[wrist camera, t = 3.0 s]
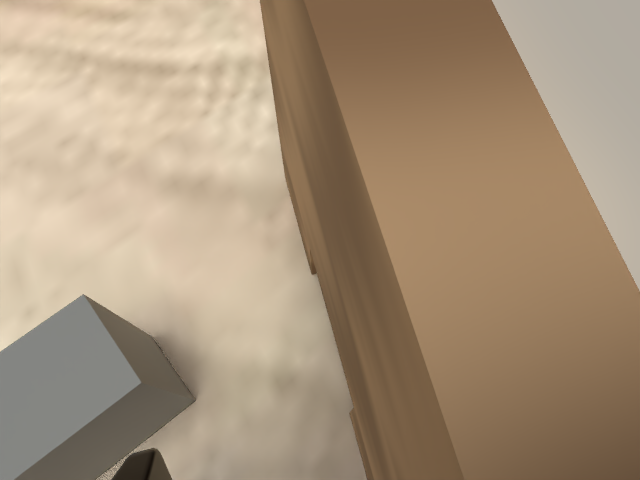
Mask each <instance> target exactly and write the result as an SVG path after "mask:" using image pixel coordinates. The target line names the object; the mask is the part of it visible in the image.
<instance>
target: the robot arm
mask: <svg viewBox="0 0 640 480" xmlns="http://www.w3.org/2000/svg"><path fill="white" fill-rule="evenodd" d="M112 480H172V478H171V476H170V474H169V471H168V469H167V467H166V464H165V462H164V460H163V458H162V455H161V453H160V452H159V451H158V450H157V449H155V448H151V449H147V450H144V451H140V452H137V453H133V454H131V455H130V456H129V457H128V458H127V459H126V460H125V462H124V463H123V464H122V466H121V467H120V469H119V470H118V471H117V473H116V474H115V475H114V477H113V478H112Z"/></svg>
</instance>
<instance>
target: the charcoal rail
mask: <svg viewBox="0 0 640 480" xmlns="http://www.w3.org/2000/svg"><path fill="white" fill-rule="evenodd" d="M194 401H196V400H195V399H194V397H193V396H192V395H191V393H190V392H189V390H188V389H187V387H186V386H185V384H184V383H183V381H182V380H181V379H180V377H179V376H178V374H177V373H176V371H175V370H174V368H173V367H172V365H171V364H170V363H169V361H168V360H167V358H166V357H165V355H164V354H163V352H162V351H161V349H160V348H159V347H158V345H157V344H156V342H155V341H154V339H153V338H152V336H150V335H148V334H147V333H145V332H144V331H142V330H140V329H139V328H137V327H135V326H134V325H132V324H131V323H129V322H127V321H126V320H124V319H123V318H121V317H119V316H118V315H116V314H114V313H113V312H111V311H110V310H108V309H106V308H105V307H103V306H101V305H100V304H98V303H97V302H95V301H93V300H92V299H90V298H89V297H87V296H85V295H84V294H83V295H82V296H80V297H79V298H77V299H76V300H74V301H73V302H71V303H70V304H69V305H67V306H66V307H64V308H63V309H61V310H60V311H59V312H57V313H56V314H54V315H53V316H51V317H50V318H48V319H47V320H46V321H44V322H43V323H41V324H40V325H38V326H37V327H35V328H34V329H33V330H31V331H30V332H28V333H27V334H25V335H24V336H22V337H21V338H20V339H18V340H17V341H15V342H14V343H12V344H11V345H9V346H8V347H7V348H5V349H4V350H2V351H1V352H0V480H95V479H97V478H98V477H99V476H100V475H102V474H103V473H104V472H106V471H107V470H108V469H109V468H111V467H112V466H113V465H114V464H116V463H117V462H118V461H119V460H121V459H122V458H123V457H125V456H126V455H127V454H128V453H130V452H131V451H132V450H133V449H135V448H136V447H137V446H139V445H140V444H141V443H142V442H144V441H145V440H146V439H147V438H149V437H150V436H151V435H152V434H154V433H155V432H156V431H158V430H159V429H160V428H161V427H163V426H164V425H165V424H166V423H168V422H169V421H170V420H171V419H173V418H174V417H175V416H177V415H178V414H179V413H180V412H182V411H183V410H184V409H185V408H187V407H188V406H189V405H191V404H192V403H193V402H194Z"/></svg>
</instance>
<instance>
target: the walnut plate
mask: <svg viewBox="0 0 640 480" xmlns="http://www.w3.org/2000/svg"><path fill="white" fill-rule="evenodd" d="M260 4H261V11H262V18H263V25H264V32H265V39H266V46H267V53H268V60H269V67H270V74H271V81H272V88H273V95H274V102H275V109H276V116H277V123H278V130H279V137H280V144H281V151H282V158H283V165H284V172H285V178H286V182H287V186H288V189H289V193H290V197H291V200H292V204H293V208H294V211H295V215H296V219H297V222H298V226H299V230H300V233H301V237H302V241H303V244H304V248H305V252H306V255H307V259H308V263H309V266H310V270H311V274H316V273H317V275H318V279H319V283H320V286H321V290H322V294H323V297H324V301H325V304H326V308H327V312H328V315H329V319H330V322H331V326H332V330H333V333H334V337H335V341H336V344H337V348H338V351H339V355H340V359H341V362H342V366H343V369H344V373H345V377H346V380H347V384H348V388H349V391H350V395H351V398H352V402H353V406H354V408H353V409H352V411H351V412H350V417H351V420H352V424H353V428H354V431H355V435H356V439H357V442H358V446H359V450H360V453H361V457H362V461H363V464H364V468H365V472H366V476H367V479H368V480H640V291H639V289H638V287H637V285H636V283H635V281H634V279H633V277H632V276H631V274H630V272H629V270H628V268H627V266H626V264H625V262H624V260H623V258H622V256H621V254H620V252H619V250H618V248H617V246H616V244H615V242H614V240H613V238H612V236H611V234H610V233H609V230H608V228H607V226H606V224H605V222H604V220H603V219H602V217H601V215H600V213H599V211H598V209H597V207H596V205H595V203H594V201H593V199H592V197H591V195H590V193H589V191H588V189H587V187H586V185H585V183H584V181H583V179H582V177H581V175H580V174H579V172H578V169H577V167H576V165H575V163H574V162H573V160H572V158H571V156H570V154H569V152H568V150H567V148H566V146H565V144H564V142H563V140H562V138H561V136H560V134H559V132H558V130H557V128H556V126H555V124H554V122H553V120H552V118H551V116H550V114H549V112H548V110H547V108H546V106H545V104H544V103H543V101H542V99H541V97H540V95H539V93H538V91H537V89H536V87H535V85H534V83H533V81H532V79H531V77H530V75H529V73H528V71H527V69H526V67H525V66H524V63H523V61H522V59H521V57H520V55H519V53H518V52H517V49H516V47H515V45H514V43H513V41H512V40H511V38H510V36H509V34H508V32H507V30H506V28H505V26H504V24H503V22H502V20H501V18H500V16H499V14H498V12H497V10H496V8H495V6H494V4H493V2H492V0H260Z"/></svg>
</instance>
